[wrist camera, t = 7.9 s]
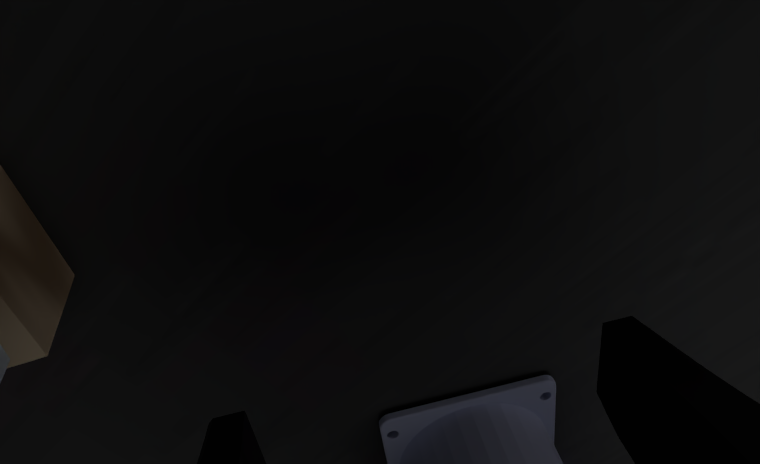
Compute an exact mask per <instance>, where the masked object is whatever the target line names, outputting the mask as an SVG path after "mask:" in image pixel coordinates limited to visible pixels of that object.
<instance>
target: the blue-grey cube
mask: <svg viewBox="0 0 760 464" xmlns="http://www.w3.org/2000/svg"><path fill="white" fill-rule="evenodd" d="M9 361H10V358H9V356H8V355H7V353H6V352H5V350H4V349H3V347H2V346H1V344H0V383H1V381H2V378H3V376H4V373H5V371H6V369H7V366H8V364H9Z"/></svg>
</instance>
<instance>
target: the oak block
mask: <svg viewBox="0 0 760 464" xmlns="http://www.w3.org/2000/svg"><path fill="white" fill-rule="evenodd" d="M74 276H75V275H74V273H73V272H72V270H71V269H70V267H69V266H68V264H67V263H66V261H65V260H64V258H63V257H62V255H61V254H60V252H59V251H58V249H57V248H56V246H55V245H54V244H53V242H52V241H51V239H50V238H49V236H48V235H47V233H46V232H45V230H44V229H43V227H42V226H41V224H40V223H39V221H38V220H37V218H36V217H35V215H34V214H33V212H32V211H31V209H30V208H29V206H28V205H27V204H26V202H25V201H24V199H23V198H22V196H21V195H20V193H19V192H18V190H17V189H16V187H15V186H14V184H13V183H12V181H11V180H10V178H9V177H8V175H7V174H6V172H5V171H4V169H3V168H2V166H1V165H0V344H1V346H2V347H3V349H4V350H5V352H6V353H7V355H8V356H9V358H10V361H9V364H8V366H7V368H10V367H13V366H16V365H20V364H23V363H26V362H29V361H33V360H36V359H39V358H43V357H46V356H48V353H49V350H50V347H51V344H52V341H53V338H54V335H55V332H56V329H57V326H58V323H59V320H60V317H61V315H62V312H63V309H64V306H65V303H66V300H67V297H68V294H69V291H70V288H71V285H72V282H73V279H74Z"/></svg>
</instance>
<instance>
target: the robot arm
mask: <svg viewBox="0 0 760 464" xmlns="http://www.w3.org/2000/svg"><path fill="white" fill-rule="evenodd" d="M597 394H598V396H599V398H600V400H601V402H602V404H603V406H604V408H605V411H606V413H607V415H608V417H609V419H610V421H611V423H612V425H613V427H614V429H615V431H616V433H617V435H618V437H619V439H620V440H621V442H622V443H623V445H624V447H625V448H626V450H627V451H628V453H629V455H630V456H631V458H632V459H633V461H634V462H635V464H760V404H759V403H757V402H756V401H754V400H753V399H751V398H749V397H748V396H746V395H745V394H743V393H742V392H740V391H739V390H737V389H736V388H734V387H733V386H731V385H730V384H728V383H727V382H725V381H724V380H722V379H721V378H719V377H718V376H716V375H715V374H713V373H712V372H710V371H709V370H707V369H706V368H704V367H703V366H702V365H700V364H699V363H697V362H696V361H694V360H693V359H692V358H690V357H689V356H687V355H686V354H684V353H683V352H682V351H680V350H679V349H677V348H676V347H675V346H673V345H672V344H670V343H669V342H668V341H666V340H665V339H663V338H662V337H661V336H659V335H658V334H656V333H655V332H654V331H652V330H651V329H650V328H648V327H647V326H645V325H644V324H642V323H641V322H640V321H638V320H637V319H635V318H634V317H632V316H630V317H626V318H622V319H617V320H613V321H609V322H605V323H603V327H602V338H601V349H600V360H599V371H598V381H597ZM555 404H556V383H555V381H554V379H553V377H551V376H550V375H541V376H537V377H533V378H529V379H525V380H521V381H517V382H513V383H509V384H505V385H501V386H497V387H493V388H489V389H485V390H481V391H477V392H473V393H469V394H465V395H461V396H457V397H453V398H449V399H445V400H441V401H437V402H433V403H429V404H425V405H421V406H417V407H413V408H409V409H405V410H401V411H397V412H393V413H389V414H386V415H384V416H383V417H382V418H381V419H380V420H379V427H380V432H381V437H382V441H383V446H384V450H385V455H386V460H387V464H563V462H562V460H561V458H560V456H559V454H558V452H557V450H556V448H555V446H554V432H555ZM197 464H266V462H265V460H264V457H263V455H262V453H261V450H260V448H259V445H258V443H257V440H256V438H255V435H254V433H253V430H252V428H251V425H250V423H249V420H248V418H247V415H246V413H245V411H242V412H238V413H233V414H229V415H225V416H221V417H217V418H213V419H212V420H211V422H210V423H209V425H208V429H207V432H206V436H205V440H204V443H203V446H202V450H201V453H200V456H199V459H198V462H197Z"/></svg>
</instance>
